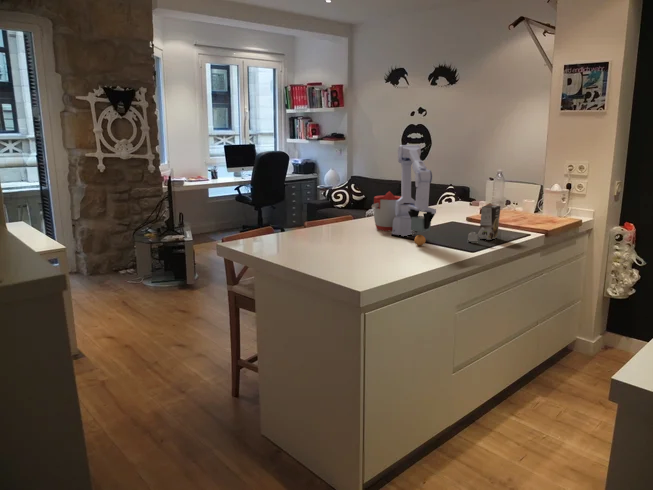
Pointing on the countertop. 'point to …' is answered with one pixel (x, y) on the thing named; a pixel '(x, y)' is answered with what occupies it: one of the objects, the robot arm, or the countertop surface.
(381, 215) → the citrus juicer
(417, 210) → the robot arm
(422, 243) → the ball
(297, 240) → the countertop surface
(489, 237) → the coffee box
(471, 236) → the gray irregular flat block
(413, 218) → the grey-green cube
